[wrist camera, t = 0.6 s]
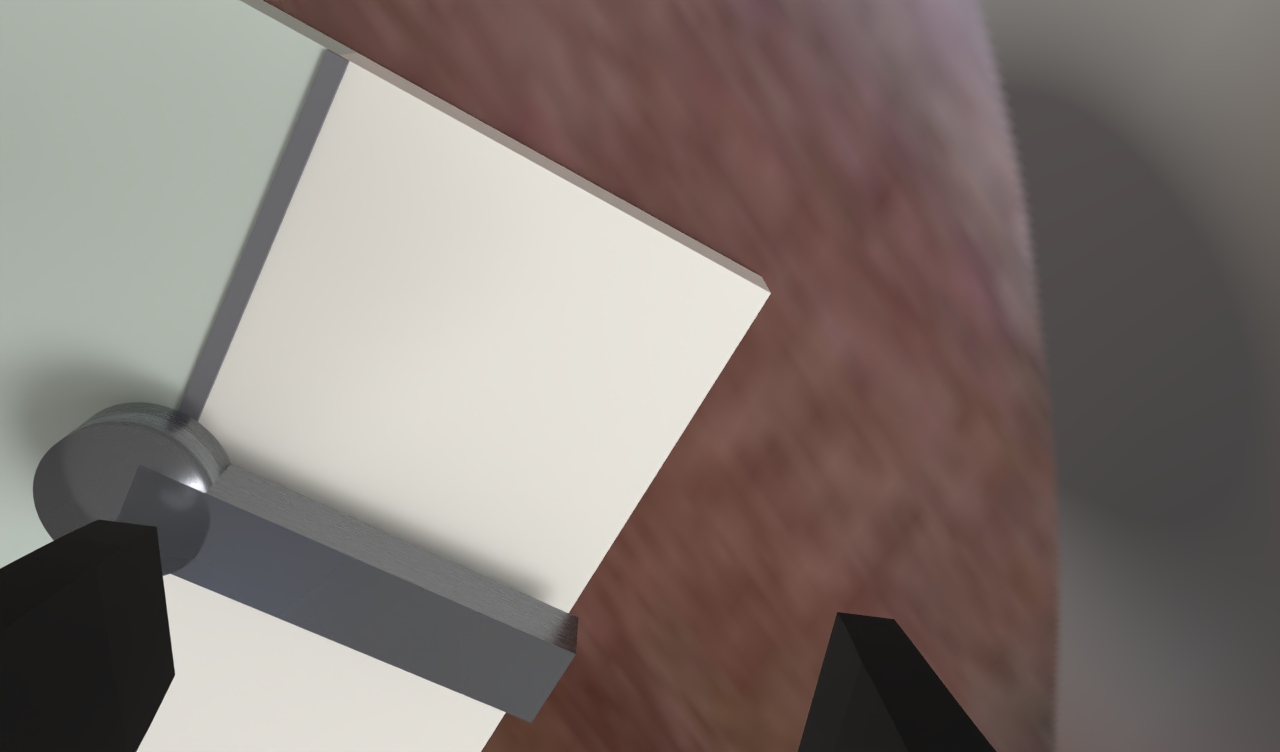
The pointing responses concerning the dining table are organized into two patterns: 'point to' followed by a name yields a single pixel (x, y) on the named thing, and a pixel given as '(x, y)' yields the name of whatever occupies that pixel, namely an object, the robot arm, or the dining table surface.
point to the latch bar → (303, 558)
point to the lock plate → (332, 330)
